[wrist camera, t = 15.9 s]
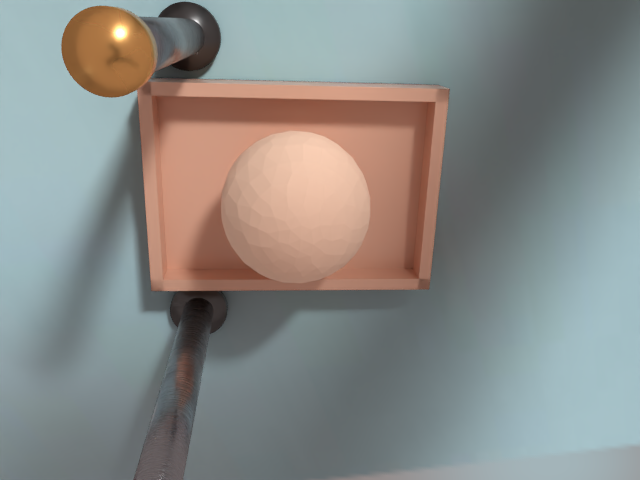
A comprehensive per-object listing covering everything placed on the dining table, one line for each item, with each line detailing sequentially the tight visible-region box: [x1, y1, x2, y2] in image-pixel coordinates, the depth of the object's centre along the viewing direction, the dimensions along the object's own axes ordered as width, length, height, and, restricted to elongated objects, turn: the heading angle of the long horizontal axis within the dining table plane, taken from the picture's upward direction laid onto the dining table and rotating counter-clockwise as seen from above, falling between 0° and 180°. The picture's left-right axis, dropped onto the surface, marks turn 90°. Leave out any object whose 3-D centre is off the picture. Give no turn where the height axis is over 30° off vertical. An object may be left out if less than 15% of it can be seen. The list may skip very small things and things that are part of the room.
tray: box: [137, 78, 450, 291], centre depth 30 cm, size 14×10×2 cm
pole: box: [134, 291, 227, 480], centre depth 26 cm, size 3×3×15 cm
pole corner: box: [61, 2, 221, 97], centre depth 21 cm, size 3×3×15 cm
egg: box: [221, 131, 370, 283], centre depth 27 cm, size 7×7×8 cm
